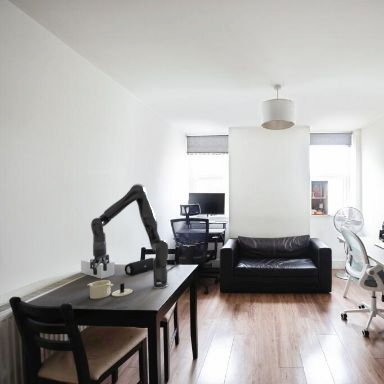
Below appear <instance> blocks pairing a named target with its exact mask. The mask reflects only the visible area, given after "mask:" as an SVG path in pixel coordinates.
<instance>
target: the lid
mask: <svg viewBox="0 0 384 384" xmlns="http://www.w3.org/2000/svg"><path fill="white" fill-rule="evenodd" d="M132 293H133V289H132V288H125V281H124V282H119V289H117V290H115V291H113V292H111V296H112V297H124V296H128V295H130V294H132Z"/></svg>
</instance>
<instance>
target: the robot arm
mask: <svg viewBox="0 0 384 384" xmlns="http://www.w3.org/2000/svg"><path fill="white" fill-rule="evenodd" d="M134 202H136V204H137V208H138V211H139V212H138V213H139V217H140V220H141V224H142V225H143V228H144V230H145V232H146V235H147V237H148V240H149V241H148V242H149V244H150V248H151V250H152V251H153V252H154V253H155V256H154V257H153V258H154V259H153V269H152V270H153V272H152V276H153V278H152V279H153V280H152V281H153V282H152V283H153V284H152V285H153V286H152V287H153V288H154V289H159V290H160V289H165V288H167V287H168V285H169V284H168V283H169V281H168V271H170V270H171V269H173V268H175V267H176V266H177V263H176V261H173V262H174V263H173V264H174V265H173V266H172V267H170V268H168V258H169V243H168V242H167V241H166V240H164V239H161V237H160V233H159V232H158V220H157V216H156V214H155V212H154V210H153V208H152V206H151V203H150V201H149V199H148V195H147V190H146V187H145V186H144V185H143V184H142V183H135V184H132V186H131V187H130V189H129V190H128V191H127V193H125V195H124V196H123V197H121V198H120V199H118V200H117V201H115V202H114V203H113V204H111V205H110V206H109V207H107V209H105V210H104V211H103V213H102V214H100V215H99V216H98V217H95V218H93V219H92V220H91V222H90V229H91V232H92V256H93V258H94V259H91V260H90V269H93V274H94V275H97V267H98V266H99V264H101V263H102V264H103V271H107V264H108V263H109V261H110V255H109V253H108V254H107V242H106V238H107V237H106V232H105V231H104V227H106V226H107V225H108V224H109V223H110V222H111V221H112V220H113V219H114V218H115V217H117V216H118V215H119V214H121V213H122V212H123V211H124V210H125V209H126V208H127V207H128V206H130V205H132V203H134ZM92 265H93V267H92ZM95 266H96V267H95Z"/></svg>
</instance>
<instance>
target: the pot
mask: <svg viewBox="0 0 384 384" xmlns="http://www.w3.org/2000/svg"><path fill="white" fill-rule="evenodd" d="M113 286H114V283H111V280H108V279H104V280H103V279H101V280H96V281H93V282H90V283H87V287H89V298H90V299H93V300H95V299H102V298H106V297H108V296H110V295H112V292H111V290H112V289H111V287H113Z"/></svg>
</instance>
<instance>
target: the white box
mask: <svg viewBox="0 0 384 384" xmlns="http://www.w3.org/2000/svg"><path fill="white" fill-rule="evenodd" d="M91 259H94V257H89V258H84V259H80V273H81V274H84V275H88V276H90V277H94V278H98V279H101V280H103V279H105V278H108V277H109V278H110V277H112V276H115V261H112V260H109V263H108V264H107V271H103V264H102V263H101V264H99V266H98V267H97V275H94V274H93V269H90V260H91ZM92 267H93V265H92ZM95 267H96V266H95Z"/></svg>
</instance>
